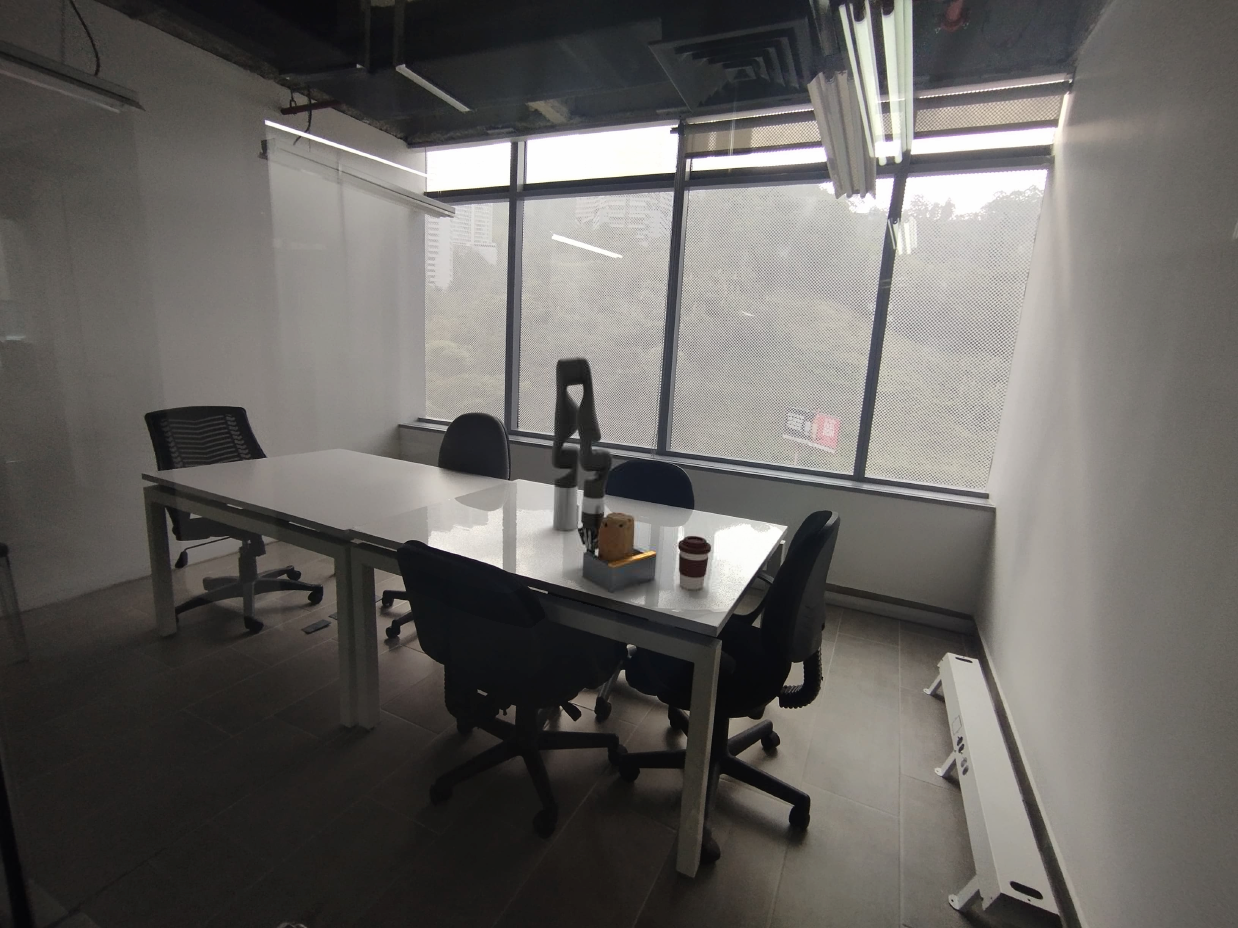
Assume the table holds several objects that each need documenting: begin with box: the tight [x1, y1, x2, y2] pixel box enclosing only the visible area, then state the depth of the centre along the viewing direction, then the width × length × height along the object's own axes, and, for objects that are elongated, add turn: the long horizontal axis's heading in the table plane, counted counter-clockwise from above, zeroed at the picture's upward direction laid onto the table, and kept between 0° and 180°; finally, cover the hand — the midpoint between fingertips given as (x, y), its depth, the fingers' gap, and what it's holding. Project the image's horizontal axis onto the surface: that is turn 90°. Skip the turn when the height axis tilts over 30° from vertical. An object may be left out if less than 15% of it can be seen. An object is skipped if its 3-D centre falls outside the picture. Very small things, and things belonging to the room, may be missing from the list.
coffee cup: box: [677, 535, 712, 591], centre depth 163 cm, size 10×10×15 cm
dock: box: [581, 545, 657, 594], centre depth 166 cm, size 18×14×9 cm
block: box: [597, 512, 635, 562], centre depth 166 cm, size 11×8×20 cm
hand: (590, 558), depth 176 cm, fingers closed
